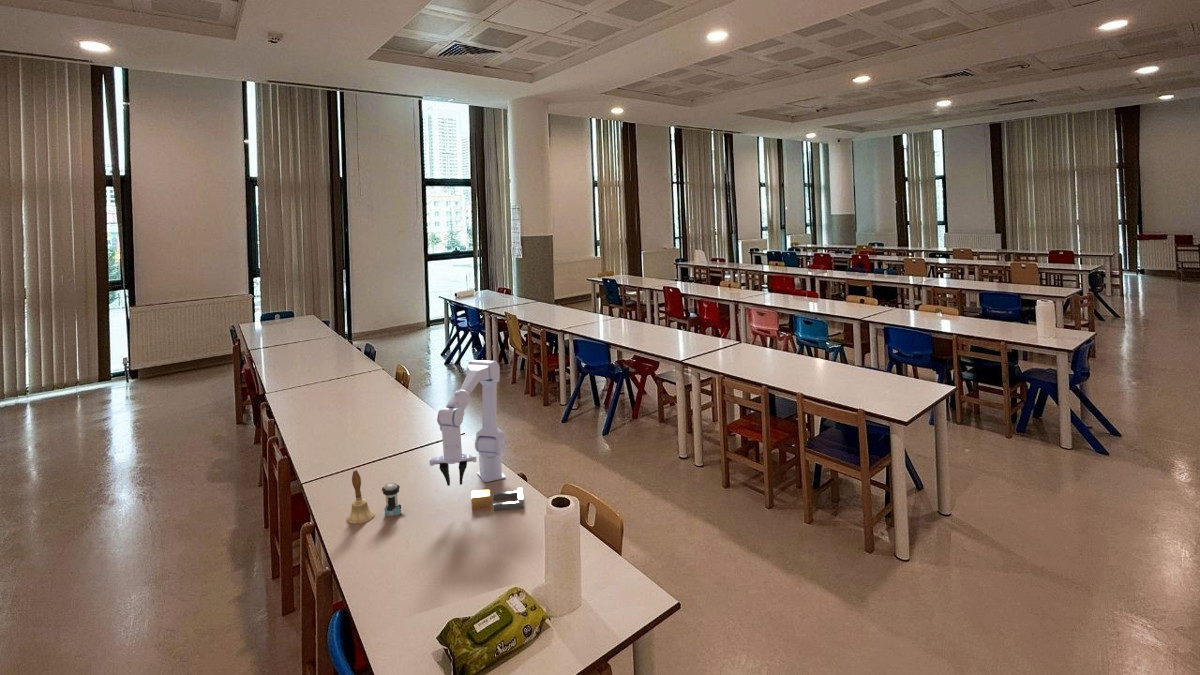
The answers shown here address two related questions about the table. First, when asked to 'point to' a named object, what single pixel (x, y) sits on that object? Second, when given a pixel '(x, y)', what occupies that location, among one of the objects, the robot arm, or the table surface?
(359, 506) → the hand bell
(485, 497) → the block
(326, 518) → the table surface
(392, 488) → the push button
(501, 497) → the guide channel
